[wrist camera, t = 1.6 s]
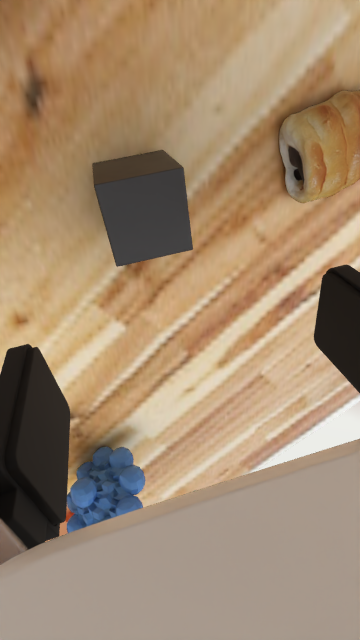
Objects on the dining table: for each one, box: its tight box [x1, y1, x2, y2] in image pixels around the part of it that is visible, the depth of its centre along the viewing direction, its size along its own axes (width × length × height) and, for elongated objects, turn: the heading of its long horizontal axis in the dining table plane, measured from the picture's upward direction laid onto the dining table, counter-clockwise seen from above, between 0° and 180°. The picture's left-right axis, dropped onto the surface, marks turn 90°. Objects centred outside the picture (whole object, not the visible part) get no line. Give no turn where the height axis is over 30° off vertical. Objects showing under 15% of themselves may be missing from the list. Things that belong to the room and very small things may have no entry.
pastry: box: [279, 90, 360, 203], centre depth 24 cm, size 9×7×4 cm
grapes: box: [67, 447, 145, 533], centre depth 35 cm, size 12×7×12 cm, turn 132°
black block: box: [93, 150, 193, 267], centre depth 22 cm, size 5×5×6 cm
